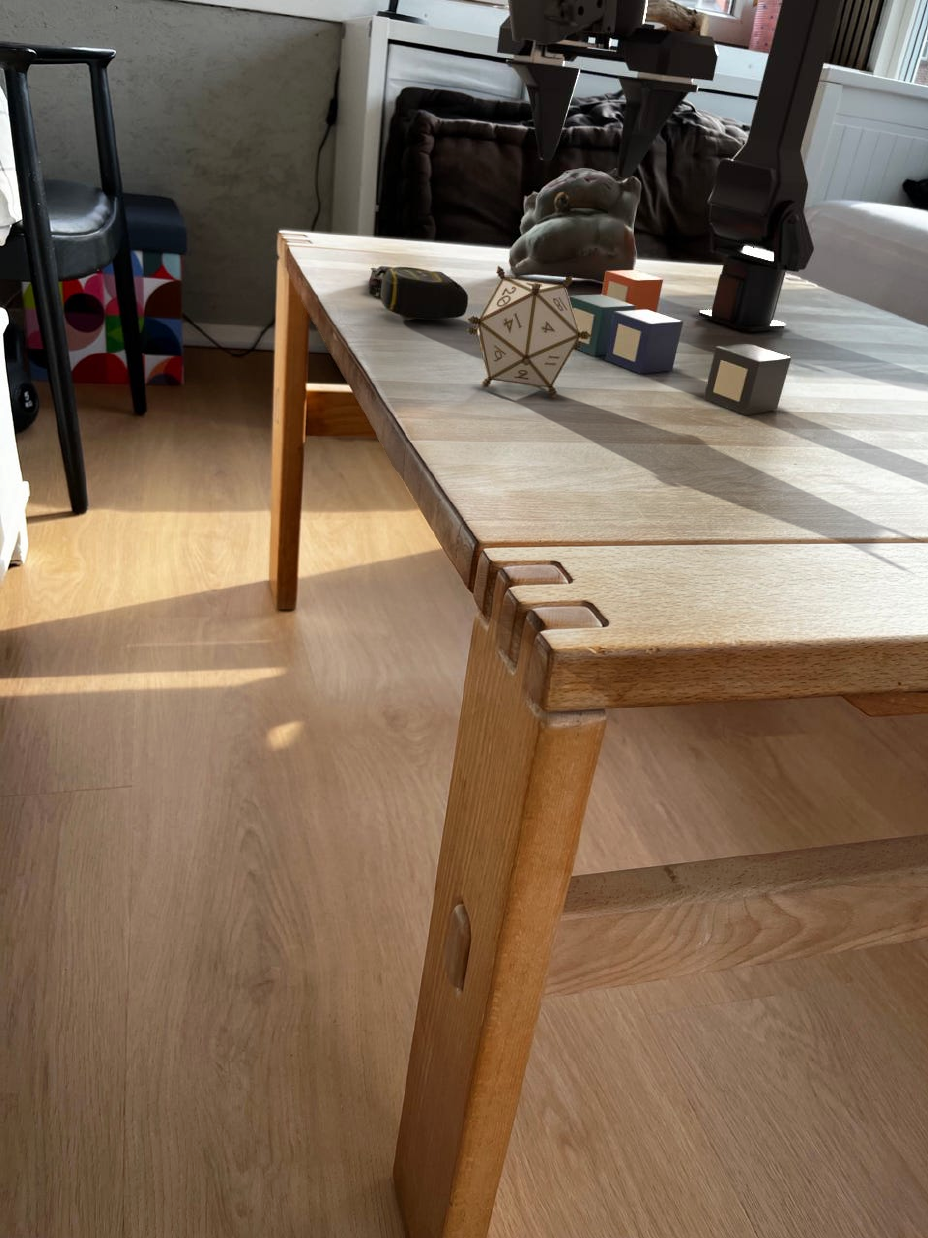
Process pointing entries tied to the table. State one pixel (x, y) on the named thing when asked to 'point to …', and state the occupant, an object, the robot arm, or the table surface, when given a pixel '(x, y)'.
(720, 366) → the block
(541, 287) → the game die
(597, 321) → the block
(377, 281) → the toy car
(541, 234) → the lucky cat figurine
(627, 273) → the loose block
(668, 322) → the block
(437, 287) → the tape measure
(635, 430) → the table surface
